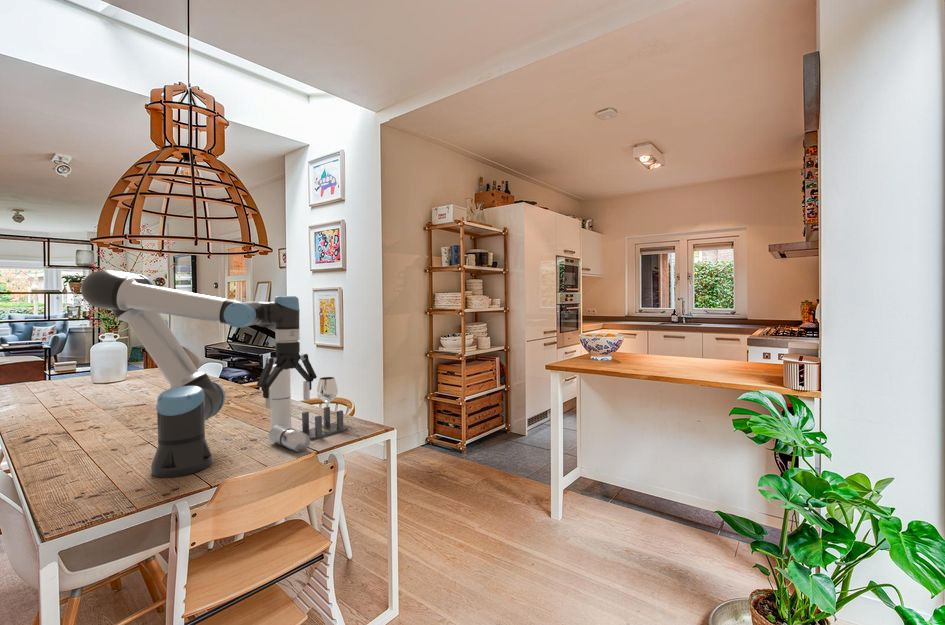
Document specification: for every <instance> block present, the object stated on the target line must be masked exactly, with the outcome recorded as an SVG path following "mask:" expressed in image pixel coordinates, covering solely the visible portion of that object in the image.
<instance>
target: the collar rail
mask: <svg viewBox="0 0 945 625" xmlns="http://www.w3.org/2000/svg"><path fill="white" fill-rule="evenodd" d="M322 416H323V418H322ZM330 419H331V407H330V406H328V407H326V406H325V407H323V415H320V414H319V415H315V416H314V427H313V428H310V411H308V410H307V411H303V412H301V426H302V427H301V429H302V430H301V431H299V432H302V433H304V434H307V435H308V436H309V438H310V441H314V440H319V439H321V438H325V437H329V436H332V435H336V434H339V433H343V432H346V431H349V427H348V426H347V427H346V426H344V410H342V409H340V410H337V411H336V423H331V424H330ZM322 420H324V424H322Z"/></svg>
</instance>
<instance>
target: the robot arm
mask: <svg viewBox="0 0 945 625" xmlns="http://www.w3.org/2000/svg"><path fill="white" fill-rule="evenodd" d="M80 293H81V295H82V298H83V299H84V300H85V301H86V302H87V303H88V304H89V305H91V306H93V307H95V308H98V309H102V310H104V309H105V310H111V311H112V313H113V314H114V315H115V316H116V318H117V320H119V321H121V322H125V323H127V324H128V326H129V327H130V329H131V330H132V331H133V333H134V334H135V336H136V337H137V338H138V340H139V342H140V343H141V344H142V346H143V347H144V349H145V350H146V352H147V353H148V355H149V356H150V358H151V359H152V360H153V362H154V364H155V365H156V366H157V368H158V369H159V370H160V372H161V373H162V375H163V377H164V378H165V379H166V381H167V382H168V384H169V386H170V388H169V389H166V390H164V391H162V392H161V393H159V395H158V397H157V399H156V401H157V402H156V408H155V409H156V423H157V447H156V451H155V454H154V457H153V459H152V462H151V465H150V466H151V467H150V470H151V471H150V472H151V473H150V474H151V475H152V476H153V477H155V478H156V477H157V478H175V477H182V476H187V475H192V474H194V473H197V472H200V471H203V470H206V469H207V468H209V467H210V466H211V465H212V464H213V453H212V452H211V449H210V447H209V445H208V442H207V440H206V432H205V431H206V428H205V427H206V424H205V423H206V421H208V420H209V419H211V418H212V417H214V416H216V415H217V414H218V413H219V412H220V411H221V410H222V409H223V407H224V405H225V402H226V393H225V390H224V388H223V387H222V386H221V385H220V384H219V383H218V382H215V381H212V379H211V378H210V377H209V375H208V374H207V372H205V371H204V372H203V371H199V370H198V368H197V367H196V365H195V364H194V362H193V361H192V360H191V358H190V357H189V355H188V353H187V352H186V351H185V350H184V348H183V346H182V345H181V343H180V342H179V340H178V339H177V337H176V335H175V334H174V333H173V331H172V330H171V328H170V326H169V325H168V324H167V322H166V321H165V320H164V318H163V317H162V315H161V314H164V315H170V316H176V317H183V318H189V319H194V320H201V321H206V322H212V323H217V324H218V323H219V324H225V325H229V326H231V327H232V328H233V327H234V328H240V329H243V328H246V327H249V326H255V325H274V327H275V341H276V343H275V354H276V355H275V357H270V356H269V357H266V360H265V366H264V367H263V369H262V371H261V374H260V376H259V378H258V381H257V383H256V387H259V388H262V397H263V398H264V399H265V408H268V409H270V408H272V388H270V386H271V384H272V383H273V382H274V380H275V379H276V377H277V376H278V375H279V373H280V372H281V371H282V370H283V369H285V370H286V369H289V368H290V370H291V369H292V370H293V369H295V370H296V371H297V373H298V374H300V376H301V377H302V378H303V379H304V380H303V382H302V383H303V384H302V385H303V390H302V391H303V392H302V394H303V395H302V396H303V397H302V398H303V400H304V401H311V399H310V398H311V397H310V394H311V392H310V391H311V390H312V383H313V382H314V380H316V379H317V378H318V377H317V374H316V372H315V370H314V368H313V366H312V364H311V363H310V360H309V354H308V353H301V352H300V350H301V348H300V345H301V343H300V341H299V340H300V302H299V300H300V299H299V297H297V296H295V295H294V296H293V295H276V296H275V297H274V301H240V300H233V299H230V298H229V299H228V298H224V297H223V298H222V297H218V296H212V295H206V294H200V293H195V292H190V291H184V290H180V289H173V288H168V287H162V286H157V285H156V286H155V285H154V283H153V282H152V281H151V280H150V279H149V278H148V277H147V276H145V275H143V274H140V273H137V272H133V271H120V270H119V271H118V270H111V269H102V270H97V271H94V272H91V273H90V274H88V275H87V276H86V277H85V278H84V279H83V281H82V282H81V287H80ZM300 353H301V354H300ZM300 361H301V362H302V364H303V366H304V368H305V369H304V368H303V366H302V365H301V363H299V362H300ZM274 364H277V365H276V366H275V367H274V370H273V371H272V373H271V374H270V371H271V369H272V367H273V365H274Z"/></svg>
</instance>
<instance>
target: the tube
mask: <svg viewBox="0 0 945 625" xmlns="http://www.w3.org/2000/svg"><path fill="white" fill-rule="evenodd" d="M268 438H269V440H270V441H271V442H272V443H274V444H275V443H276V444H277V445H280V446H282V447H284V448H286V449H289V450H291V451H294V452H296V453H303V452H305V451H306V450H307V449H308V448H309V446H310V444H311V440H310V438H309V436H308V435H307V434H304V433H302V432H300V431H299V430H296V429H294V428H292V427H291V428H288V427H285V426H283V425H276V426H274V427H273V428H272V429H271V428H270V430H269V433H268Z"/></svg>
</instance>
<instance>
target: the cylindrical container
mask: <svg viewBox="0 0 945 625" xmlns="http://www.w3.org/2000/svg"><path fill="white" fill-rule="evenodd" d="M276 365H277V363H274V364H273V367H272V369H271V371H270V374H271V373H272V371H273V370H274V367H275V366H276ZM270 374H269V375H270ZM269 388H272V408H269V411H270V430H271V429H272V428H273V427H274V426H276V425H283V426H285V427H288V428H291V429H292V408H291V407H292V402H291V401H292V399H291V368H289V369H286V370H285V369H283V370H282V371H281V372H280V373H279V375H278V376H277V377H276V379H275V380H274V382H273V383H272V384H271V386H270V387H269Z"/></svg>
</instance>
